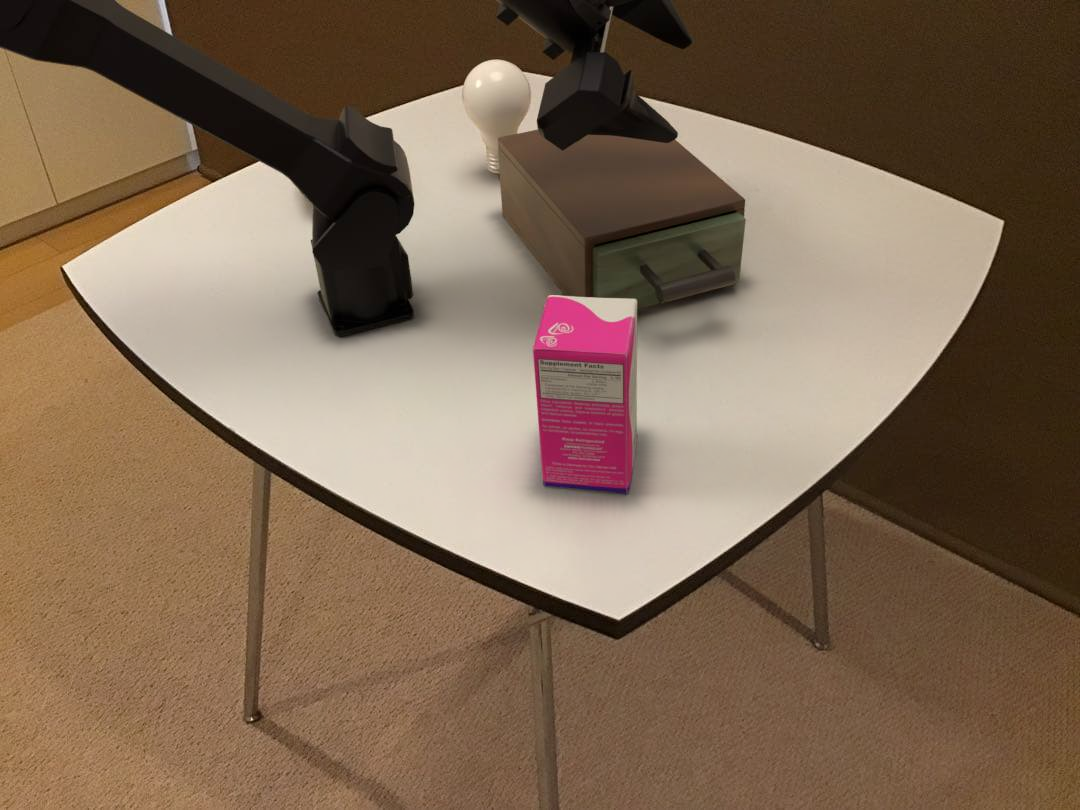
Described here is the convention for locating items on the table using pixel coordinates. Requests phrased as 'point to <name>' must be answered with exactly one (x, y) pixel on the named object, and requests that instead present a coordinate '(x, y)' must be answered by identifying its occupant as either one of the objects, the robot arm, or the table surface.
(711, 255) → the drawer
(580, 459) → the supplement box
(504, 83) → the lightbulb
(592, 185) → the cabinet
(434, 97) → the table surface
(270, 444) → the table surface
